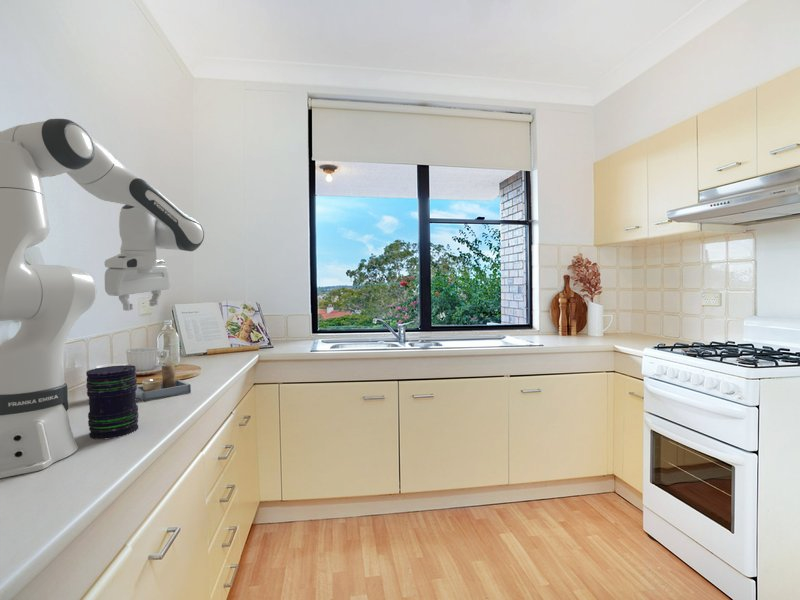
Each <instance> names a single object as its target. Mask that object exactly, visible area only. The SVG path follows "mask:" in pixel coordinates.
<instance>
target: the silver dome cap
mask: <svg viewBox="0 0 800 600" xmlns="http://www.w3.org/2000/svg"><path fill="white" fill-rule="evenodd" d="M153 380H154V378H145V379H142V381H141V382H142V383H141V384H142V385H143V382H146V381H153Z"/></svg>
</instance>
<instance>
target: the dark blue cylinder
mask: <svg viewBox="0 0 800 600" xmlns="http://www.w3.org/2000/svg"><path fill="white" fill-rule="evenodd" d="M136 369H137V367H136V365H131V364H130V365H129V364H126V365H121V366H110V367H102V368H92V369H89V370H87V371H86V372H85V373H86V384H85V385H86V386H85V387H86V395H87V397H88V404H89V405H88V406H89V412H88V413H87V414H88V415H87V417H88V420H87V422H88V430H89V438H90V439H92V438H93V439H92V440H106V439H105V438H110V439H114V438H113V437H116V438H120V437H119V436H121V437H124V436H128V435H130V433H131V434H133V433H135V432H137V431H138V430H139V424H138V423H139V412H138V411H139V408H138V407H139V406H138V405H137V397H136V389H137V387H138V385H137V382H138V380H137V379H138V378H137V374H136V373H137V372H136ZM137 429H138V430H137ZM136 430H137V431H136ZM134 431H135V432H134ZM132 432H133V433H132ZM127 434H128V435H127ZM123 435H124V436H123Z"/></svg>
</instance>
